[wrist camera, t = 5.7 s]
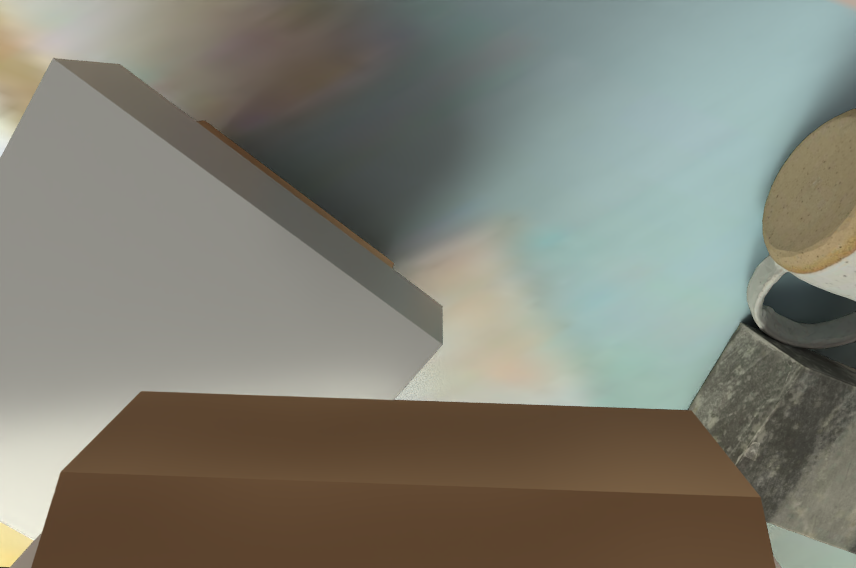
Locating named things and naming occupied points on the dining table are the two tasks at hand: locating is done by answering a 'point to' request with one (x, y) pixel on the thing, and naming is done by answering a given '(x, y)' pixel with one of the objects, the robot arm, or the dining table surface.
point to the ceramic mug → (812, 233)
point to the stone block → (787, 432)
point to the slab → (168, 280)
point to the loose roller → (400, 488)
